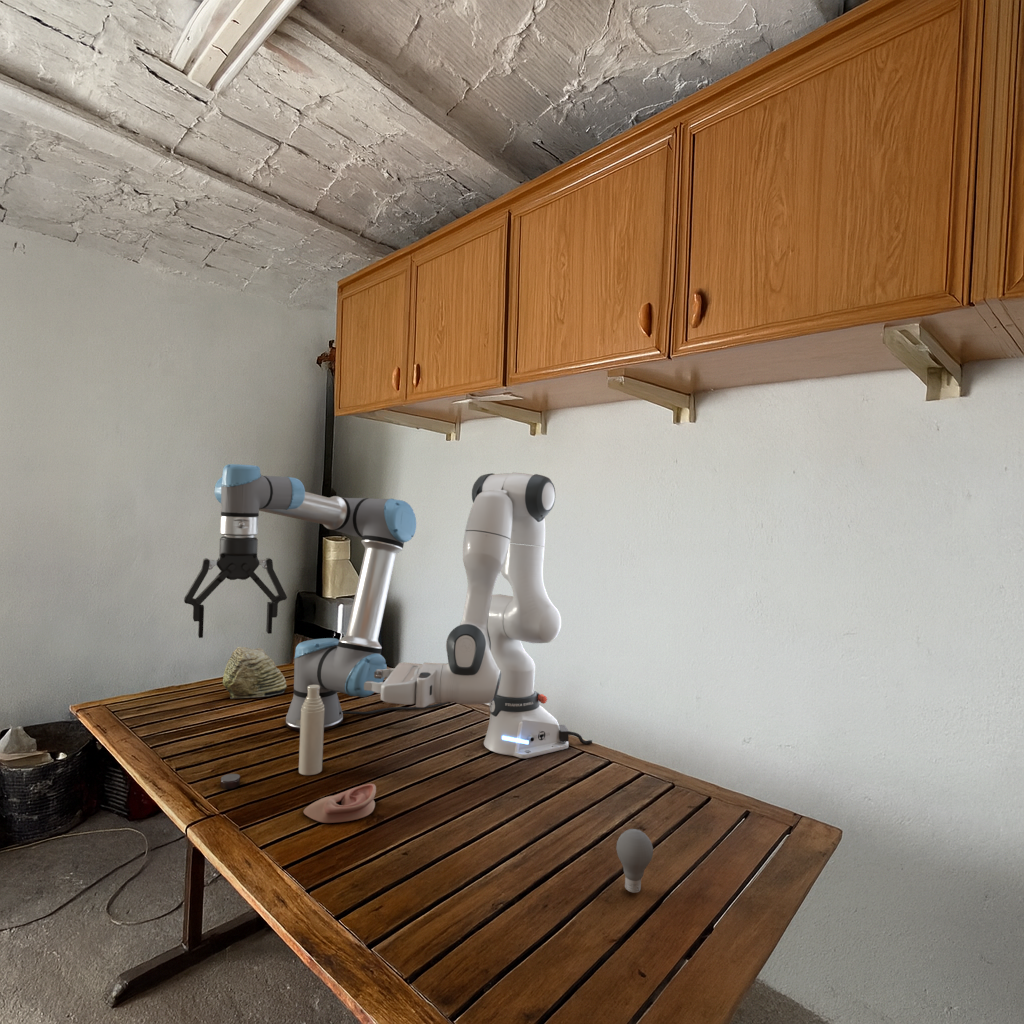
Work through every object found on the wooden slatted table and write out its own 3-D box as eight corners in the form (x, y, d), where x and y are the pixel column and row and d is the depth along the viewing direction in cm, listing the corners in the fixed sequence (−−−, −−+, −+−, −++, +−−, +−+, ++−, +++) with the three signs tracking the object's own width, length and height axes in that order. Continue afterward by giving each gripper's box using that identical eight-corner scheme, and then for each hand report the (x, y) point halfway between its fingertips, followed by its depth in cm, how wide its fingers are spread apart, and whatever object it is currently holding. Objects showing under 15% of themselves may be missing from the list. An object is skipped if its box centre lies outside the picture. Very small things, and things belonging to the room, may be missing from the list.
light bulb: (610, 879, 108) (613, 822, 108) (644, 879, 109) (647, 822, 109) (619, 902, 102) (622, 840, 102) (655, 901, 103) (658, 840, 103)
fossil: (218, 695, 195) (220, 647, 195) (278, 685, 208) (279, 640, 207) (228, 703, 189) (230, 653, 188) (289, 692, 201) (290, 645, 201)
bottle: (318, 763, 150) (321, 681, 150) (325, 772, 145) (328, 687, 145) (295, 768, 147) (299, 684, 147) (302, 777, 143) (305, 690, 142)
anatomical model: (295, 798, 124) (324, 774, 135) (295, 818, 124) (324, 792, 135) (358, 808, 121) (383, 782, 132) (358, 828, 121) (382, 801, 133)
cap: (217, 788, 135) (217, 780, 135) (226, 780, 139) (226, 773, 139) (234, 789, 135) (234, 781, 135) (243, 781, 139) (243, 774, 139)
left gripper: (173, 536, 127) (170, 642, 127) (302, 538, 139) (298, 634, 139) (173, 534, 133) (169, 634, 134) (296, 535, 146) (292, 627, 146)
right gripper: (436, 657, 156) (380, 654, 156) (423, 681, 135) (358, 677, 135) (435, 683, 156) (379, 680, 156) (421, 710, 135) (357, 707, 136)
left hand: (235, 634), depth 137 cm, fingers open, 13 cm apart
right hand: (369, 679), depth 146 cm, fingers open, 8 cm apart
